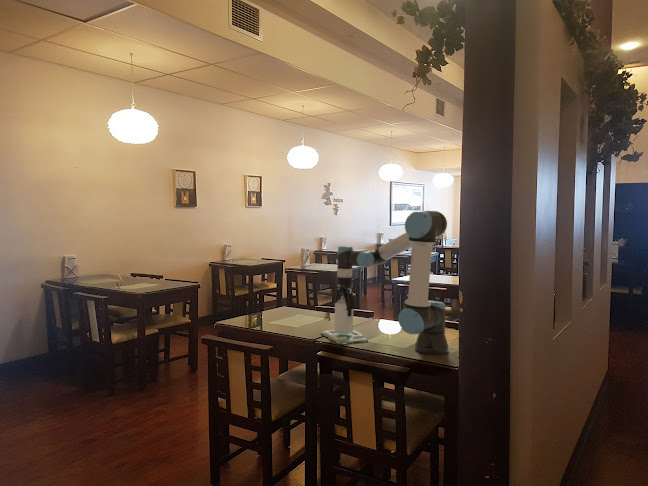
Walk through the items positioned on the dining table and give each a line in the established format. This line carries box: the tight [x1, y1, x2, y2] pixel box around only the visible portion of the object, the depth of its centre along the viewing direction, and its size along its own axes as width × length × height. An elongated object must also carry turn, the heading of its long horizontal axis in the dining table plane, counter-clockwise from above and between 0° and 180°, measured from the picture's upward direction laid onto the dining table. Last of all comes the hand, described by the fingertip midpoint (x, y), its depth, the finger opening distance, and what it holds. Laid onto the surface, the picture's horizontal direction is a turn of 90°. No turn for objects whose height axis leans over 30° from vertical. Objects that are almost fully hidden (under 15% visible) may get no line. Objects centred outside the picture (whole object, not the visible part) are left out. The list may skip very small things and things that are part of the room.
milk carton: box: [334, 296, 354, 334], centre depth 236 cm, size 7×7×19 cm
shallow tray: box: [320, 329, 369, 345], centre depth 237 cm, size 22×16×2 cm
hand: (343, 320), depth 236 cm, fingers closed on milk carton, 10 cm apart
